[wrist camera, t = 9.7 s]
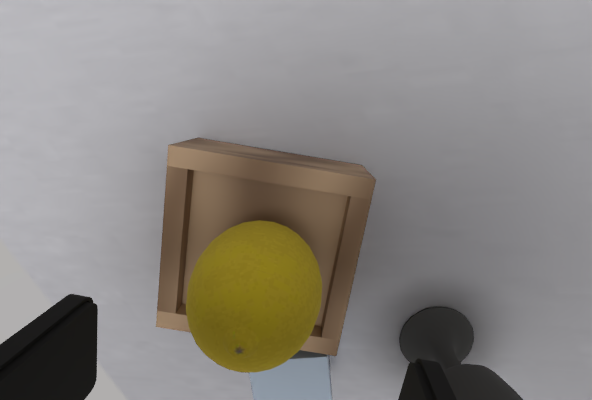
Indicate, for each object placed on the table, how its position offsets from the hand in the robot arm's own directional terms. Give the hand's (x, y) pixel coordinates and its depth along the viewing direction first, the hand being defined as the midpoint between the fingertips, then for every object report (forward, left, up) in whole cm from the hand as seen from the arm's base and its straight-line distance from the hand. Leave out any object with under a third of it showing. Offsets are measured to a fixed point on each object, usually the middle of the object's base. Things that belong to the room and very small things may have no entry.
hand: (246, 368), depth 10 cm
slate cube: (-2, +8, -13) cm, 15 cm away
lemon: (0, 0, -9) cm, 9 cm away
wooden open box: (+1, 0, -12) cm, 12 cm away
